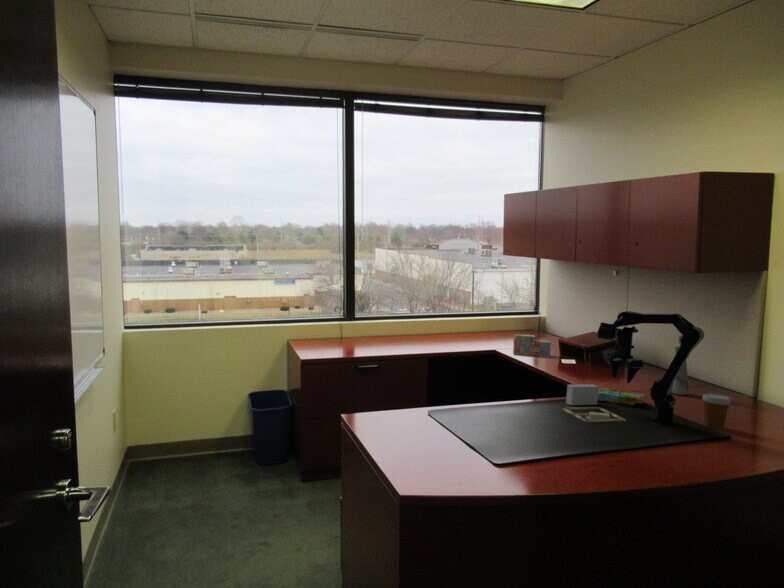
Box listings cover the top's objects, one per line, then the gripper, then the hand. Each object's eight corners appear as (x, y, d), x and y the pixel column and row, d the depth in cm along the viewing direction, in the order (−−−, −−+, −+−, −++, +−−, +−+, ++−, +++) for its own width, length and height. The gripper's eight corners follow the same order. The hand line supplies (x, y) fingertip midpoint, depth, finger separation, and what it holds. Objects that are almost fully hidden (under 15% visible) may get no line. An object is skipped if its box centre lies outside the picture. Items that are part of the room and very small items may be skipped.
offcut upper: (609, 420, 220) (609, 416, 220) (589, 417, 221) (590, 414, 221) (608, 417, 223) (608, 413, 223) (589, 415, 224) (589, 411, 224)
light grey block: (596, 408, 242) (598, 386, 241) (571, 408, 239) (572, 387, 238) (591, 405, 246) (593, 384, 245) (565, 405, 243) (567, 384, 242)
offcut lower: (613, 425, 220) (613, 420, 220) (587, 423, 220) (587, 418, 220) (609, 421, 224) (609, 416, 224) (583, 420, 224) (583, 415, 224)
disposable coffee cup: (713, 431, 217) (716, 399, 216) (693, 423, 226) (696, 393, 225) (733, 430, 219) (737, 399, 218) (713, 422, 228) (716, 392, 227)
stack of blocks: (548, 355, 358) (549, 336, 357) (549, 357, 352) (551, 337, 351) (512, 353, 360) (514, 333, 359) (513, 355, 354) (515, 335, 353)
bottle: (662, 391, 277) (668, 333, 275) (677, 390, 280) (682, 333, 278) (677, 396, 269) (683, 336, 267) (692, 395, 272) (698, 336, 270)
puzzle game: (596, 385, 263) (644, 392, 255) (595, 395, 264) (643, 402, 255) (593, 390, 253) (644, 398, 244) (593, 401, 253) (643, 409, 245)
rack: (625, 424, 220) (626, 419, 219) (585, 425, 215) (585, 420, 215) (599, 411, 236) (599, 406, 236) (561, 412, 232) (561, 407, 232)
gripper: (593, 338, 242) (590, 375, 244) (621, 346, 224) (617, 386, 226) (617, 338, 245) (613, 374, 246) (646, 346, 227) (642, 385, 228)
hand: (621, 380), depth 236 cm, fingers open, 9 cm apart
